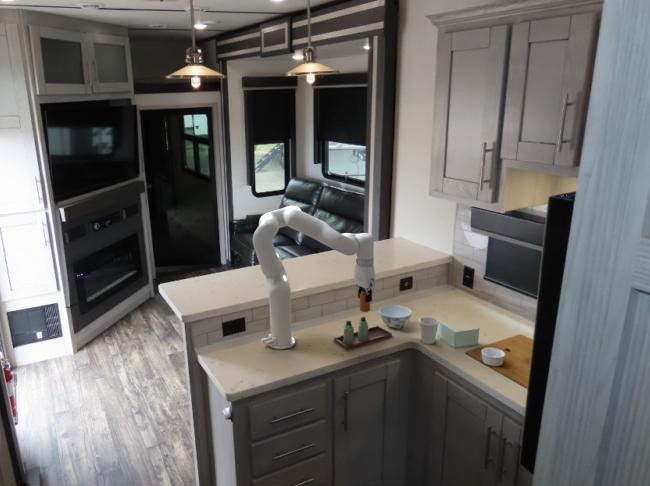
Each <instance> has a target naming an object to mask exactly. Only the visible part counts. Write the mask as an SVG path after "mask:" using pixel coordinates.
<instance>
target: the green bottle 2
mask: <svg viewBox="0 0 650 486" xmlns="http://www.w3.org/2000/svg"><path fill="white" fill-rule="evenodd" d="M366 318H367V317H366V316H361V317H360V319H359V321H358V323H357V331H358V339H359V340H361V341H366V340H368V328H369V323H368V321H367V319H366Z"/></svg>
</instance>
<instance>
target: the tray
mask: <svg viewBox="0 0 650 486" xmlns="http://www.w3.org/2000/svg"><path fill="white" fill-rule="evenodd" d="M392 337H393V333H392V332H390V331H388V330H387V329H385V328H384V327H381V326H380V325H375V326H371V327H368V340H366V341H361V340H359V339H358V330H356V331H354V344H352V345H346V344H344V342H343V334H342V335H339V336H335V337H333V342H334V343H336V344H337V345H339V346H340V347H342V348H343V349H345V350H346V351H348V350H351V349H355V348H358V347H362V346H365V345H368V344H372V343H375V342H380V341H383V340H386V339H389V338H392Z"/></svg>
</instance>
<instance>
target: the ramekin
mask: <svg viewBox="0 0 650 486" xmlns="http://www.w3.org/2000/svg"><path fill="white" fill-rule="evenodd" d="M480 353H481V361H482V363H484V364H485V365H487V366H491V367H499V366H502V365H503V364H504V360H505V357H506V353H505V351H503V350H501V349H499V348H496V347H484V348H482V349H481V351H480Z"/></svg>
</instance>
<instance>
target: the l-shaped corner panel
mask: <svg viewBox="0 0 650 486" xmlns="http://www.w3.org/2000/svg"><path fill="white" fill-rule="evenodd" d="M438 321H439V323H438V337H439V338H440V339H441V340H443V341H444V342H445V343H447V344H448V345H449V346H450V347H452V348H453V349H456V348H462V347H469V346H476V345H479V339H480V338H479V337H480V336H479V335H480V327H474V328H467V329H460V330H455V329H454V328H452V327H451V326H450V325H448V324H446V323H445V322H444V321H443V320H438Z"/></svg>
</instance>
